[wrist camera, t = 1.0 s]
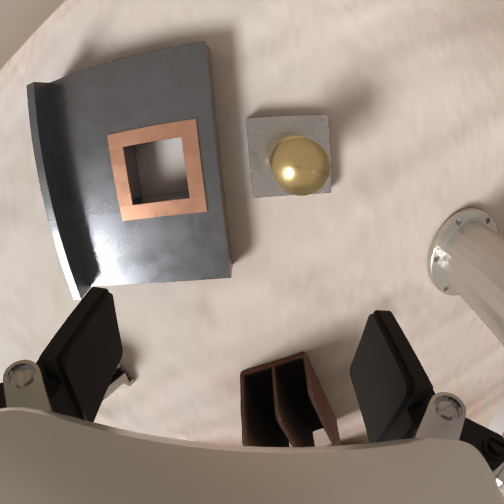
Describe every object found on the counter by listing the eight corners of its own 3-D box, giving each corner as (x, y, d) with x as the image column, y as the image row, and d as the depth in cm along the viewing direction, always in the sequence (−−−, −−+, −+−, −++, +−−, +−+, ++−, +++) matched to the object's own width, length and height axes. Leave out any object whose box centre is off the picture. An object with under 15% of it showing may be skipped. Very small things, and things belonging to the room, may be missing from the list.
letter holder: (284, 433, 51) (290, 498, 38) (239, 370, 44) (236, 452, 31) (336, 418, 50) (350, 484, 37) (305, 349, 42) (321, 432, 29)
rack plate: (209, 47, 26) (200, 33, 21) (232, 264, 36) (229, 292, 31) (57, 86, 27) (26, 85, 21) (94, 274, 37) (73, 299, 31)
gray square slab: (324, 114, 29) (328, 114, 28) (327, 189, 33) (331, 192, 31) (246, 118, 30) (245, 118, 28) (252, 194, 33) (253, 197, 32)
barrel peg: (312, 132, 29) (329, 137, 22) (314, 176, 31) (330, 193, 24) (265, 134, 29) (270, 140, 23) (269, 179, 31) (274, 197, 24)
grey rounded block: (76, 397, 48) (45, 422, 38) (63, 376, 48) (30, 398, 38) (136, 380, 45) (105, 412, 35) (122, 355, 45) (86, 383, 35)
